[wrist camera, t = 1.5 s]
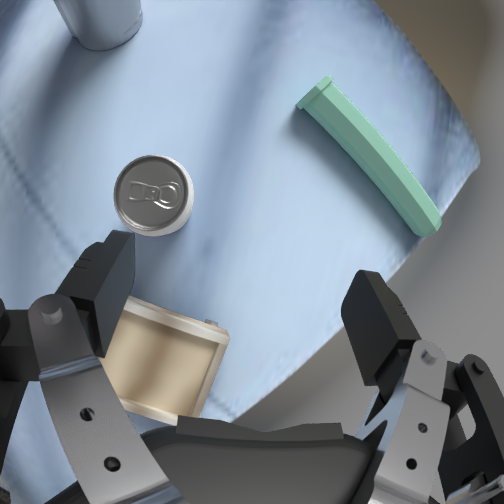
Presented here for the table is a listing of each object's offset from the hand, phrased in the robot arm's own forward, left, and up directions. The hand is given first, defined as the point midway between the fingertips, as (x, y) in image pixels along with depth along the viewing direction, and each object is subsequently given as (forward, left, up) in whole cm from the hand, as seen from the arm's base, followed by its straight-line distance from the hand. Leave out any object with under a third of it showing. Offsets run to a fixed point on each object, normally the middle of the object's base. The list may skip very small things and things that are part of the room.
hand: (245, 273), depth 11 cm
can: (-6, +2, -24) cm, 25 cm away
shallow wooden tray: (-2, -14, -24) cm, 28 cm away
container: (+16, +17, -25) cm, 34 cm away
